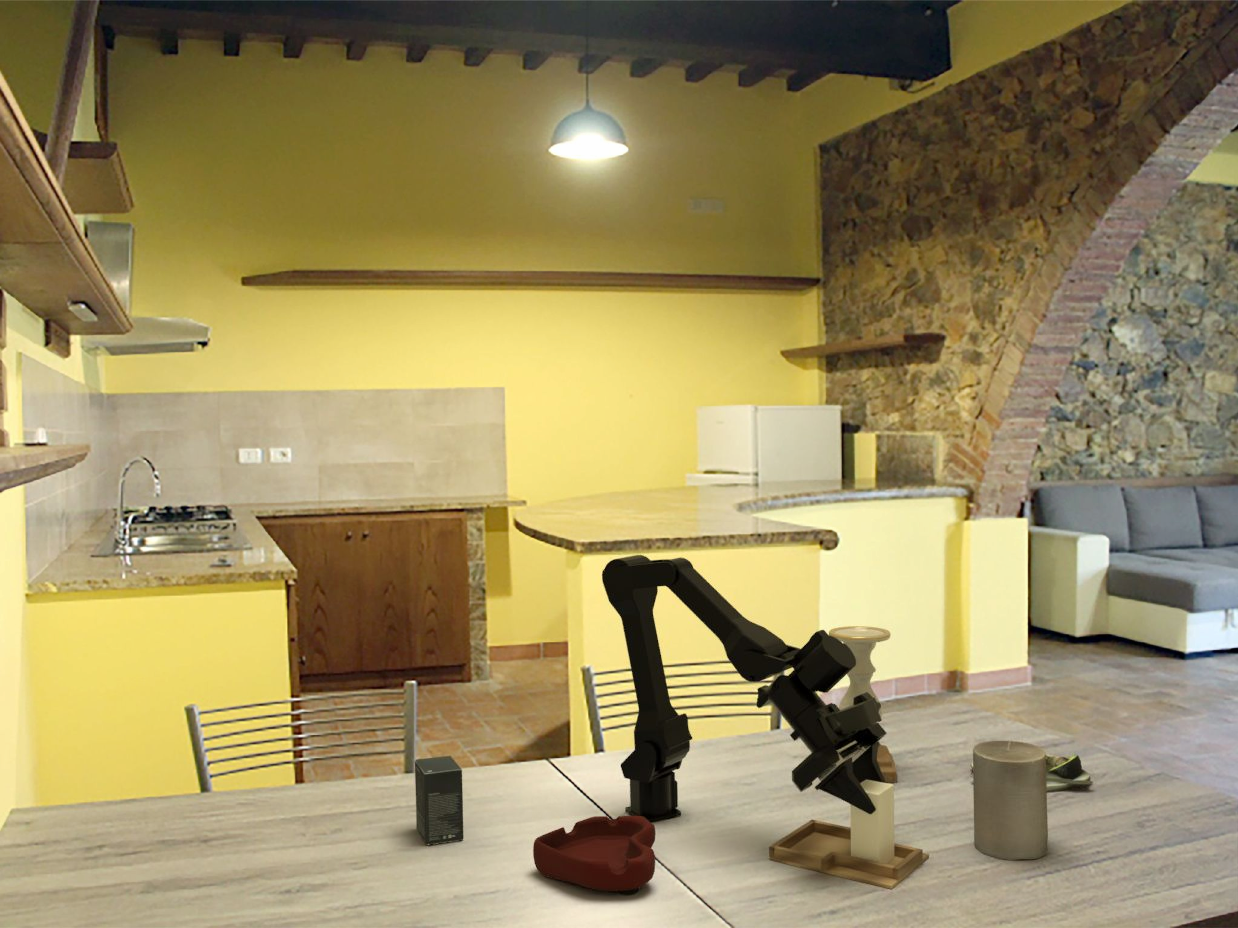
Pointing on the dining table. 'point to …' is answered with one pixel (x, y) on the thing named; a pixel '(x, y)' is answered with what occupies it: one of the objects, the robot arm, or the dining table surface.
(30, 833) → the dining table surface
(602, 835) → the ashtray
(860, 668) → the candle holder
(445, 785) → the box
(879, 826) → the panel block
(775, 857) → the keyhole frame
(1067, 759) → the salad plate
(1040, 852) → the pillar candle
